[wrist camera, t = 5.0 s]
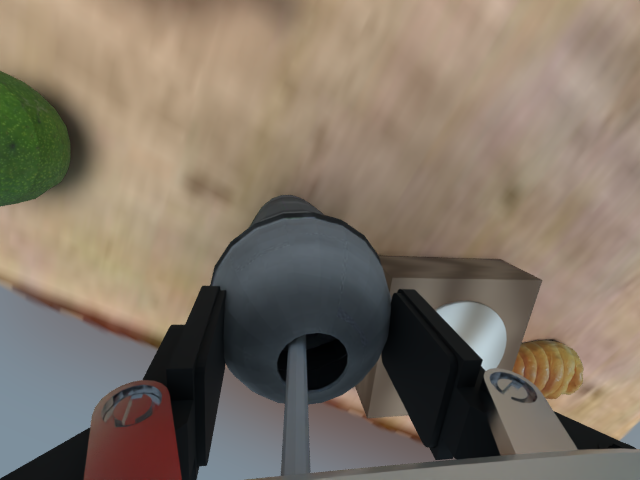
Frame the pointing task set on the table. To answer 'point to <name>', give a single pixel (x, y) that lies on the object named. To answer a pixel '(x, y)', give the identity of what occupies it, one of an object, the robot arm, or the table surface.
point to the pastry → (550, 367)
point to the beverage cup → (301, 312)
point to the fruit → (29, 143)
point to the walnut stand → (459, 313)
